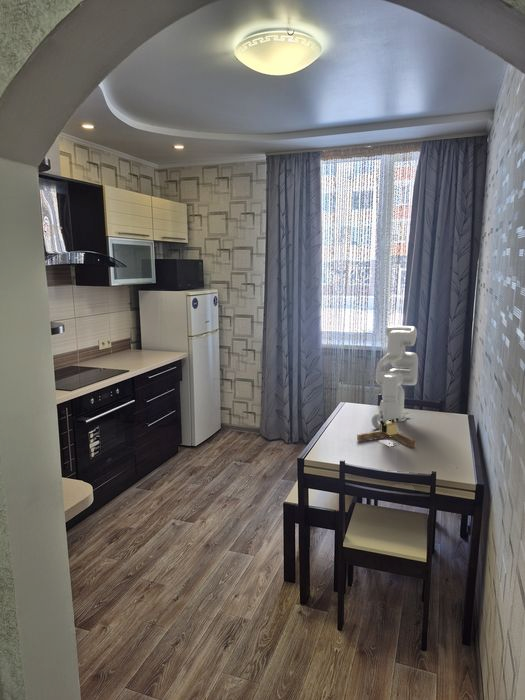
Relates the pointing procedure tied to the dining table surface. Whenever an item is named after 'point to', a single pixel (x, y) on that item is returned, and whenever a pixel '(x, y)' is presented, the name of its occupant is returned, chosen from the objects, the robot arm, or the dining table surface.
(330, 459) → the dining table surface
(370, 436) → the tan wooden angled piece
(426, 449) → the dining table surface
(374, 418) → the donut
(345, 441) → the dining table surface
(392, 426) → the bar block
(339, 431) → the dining table surface
